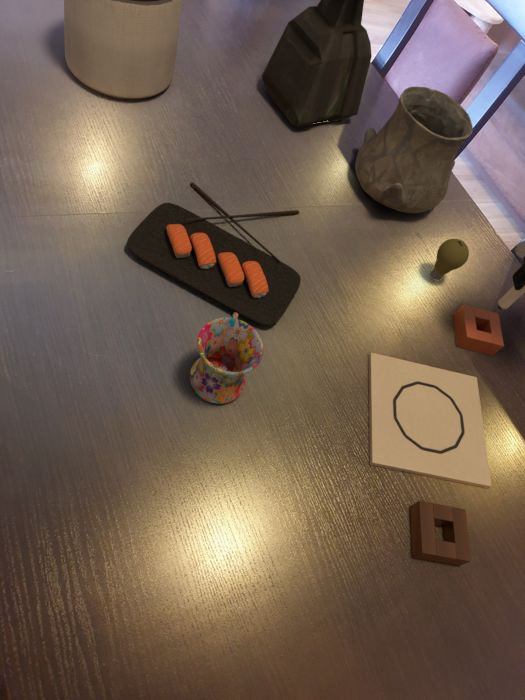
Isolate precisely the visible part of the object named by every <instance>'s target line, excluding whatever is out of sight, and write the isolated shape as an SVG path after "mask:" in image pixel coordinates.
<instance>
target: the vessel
mask: <svg viewBox="0 0 525 700" xmlns="http://www.w3.org/2000/svg"><path fill="white" fill-rule="evenodd" d="M473 130H474V127H473V122H472V120H471V117H470V115H469V113H468V112H467V111H466V109H464V107H463V106H462V105H461V104H460V103H458V102H457V101H456V100H455V99H454V98H453V97H451V96H449V95H448V94H446V93H445V92H442V91H440V90H437V89H433V88H430V87H426V86H409V87H406V88H405V89H404V90H403V91H402V92H401V94H400V96H399V99H398V102H397V106H396V108H395V110H394V112H393V113H392V115H391V116H390V117H389V119H388V120H387V121H386V122H385V124H384V125H383V126H382V127H381V128H380V130H379V131H377V132H376V129H375V128H373V127H370V128H369V129H367V130H366V131H365V132H364V137H363V138H364V139H363V143H362V144H361V147H360V148H359V150H358V152H357V155H356V157H355V164H354V169H355V175H356V177H357V180H358V182H359V185H360V187H361V189H362V190H363V191H364V193H366V194H367V195H368V196H369V197H370V198H371V199H373V200H374V201H375V202H378V203H379V204H381V205H382V206H384V207H387V208H389V209H392V210H395V211H398V212H401V213H402V212H403V213H406V214H407V213H408V214H418V213H419V214H420V213H425V212H428V211H430V210H433V209H434V208H435V207H437V206H438V205H440V204H441V202H442V201H443V200H444V199H445V197H446V195H447V191H448V189H449V188H448V187H449V182H450V180H451V175H452V171H453V169H454V167H455V165H456V161H455V159H456V156H457V153H458V151H459V149H460V147H461V146H462V145H463V144H464V142H466V140H467V139H469V138H470V137H471V136H472V134H473Z"/></svg>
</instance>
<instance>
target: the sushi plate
mask: <svg viewBox="0 0 525 700" xmlns="http://www.w3.org/2000/svg"><path fill="white" fill-rule="evenodd" d="M189 184H191V185H190V187H191V186H193V187H194V188H195V189H194V188H193V187H192V188H193V189H194V190H195V191H196V190H197V191H198V192H197V191H196V192H197V193H198V194H199V193H200V196H201V197H203V198H204V199H205V200H206V201H207V202H208V203H210V205H212V206H213V207H215V209H217V210H218V211H219V212H220V213H221V214H222V215H221V216H206V217H201V216H199V215H198V214H196V213H194V212H193V211H190V210H188V209H186V208H184V207H183V206H180V205H179V204H175V203H173V202H163V203H161V204H159V205H157V206H156V207H155V208H154V209H153V210H152V211H150V213H148V215H147V216H146V217H145V218H144V219H143V220H141V222H140V223H139V224H138V225H137V226H136V227H135V229H134V230H133V231H132V232H131V234H130V235H129V236H128V238H127V241H126V247H127V249H128V250H129V251H130V253H132V254H133V255H134V256H136V257H137V258H139V259H141V260H142V261H144V262H145V263H148V264H149V265H150V266H153V267H154V268H156V269H158V270H159V271H161V272H163V273H165V274H166V275H169V276H170V277H172V278H174V279H175V280H178V281H179V282H181V283H183V284H184V285H186V286H188V287H190V288H192V289H194V290H196V291H197V292H200V293H201V294H203V295H204V296H206V297H208V298H210V299H211V300H214V301H216V302H218V303H219V304H221V305H223V306H225V307H226V308H228V309H229V310H232V311H234V312H235V313H238V315H241V316H243V317H245V318H246V319H249V320H251V321H253V322H255V323H257V324H259V325H262V326H267V327H270V326H273V325H276V324H277V323H278V322H279V321H280V320H281V318H282V317H283V316H284V314H285V313H286V311H287V309H288V308H289V306H290V304H291V303H292V301H293V299H294V298H295V296H296V294H297V292H298V290H299V288H300V285H301V275H300V274H299V272H297V271H296V269H294V268H292V267H291V266H290V265H288V264H286V263H284V262H283V261H281V260H280V259H279V258H277V256H276V255H275V254H273V253H272V252H271V251H270V250H269V249H268V248H267V247H266V246H264V245H263V244H262V243H261V242H259V240H258V239H257V238H255V237H254V236H253V235H252V234H251V233H250V232H248V231H247V229H245V228H244V226H242V225H241V224H240V223H238V222H237V220H235V219H239V218H259V217H260V218H261V217H275V216H279V217H280V216H293V215H299V214H300V211H299V210H298V209H295V210H282V211H281V210H280V211H269V212H268V211H267V212H257V213H248V214H233V215H230V214H229V213H228V212H227V211H225V210H224V209H223V208H222V207H221V206H220V205H219V204H218V203H217V202H215V200H214V199H212V198H211V197H210V196H209V195H208V194H207V193H206V192H205V191H204V190H202V189H201V187H199V186H198V185H197V184H196V183H195V182H193V181H192V182H190V183H189ZM222 219H228V220H230V221H231V222H232V223H233V224H234V225H236V227H238V228H239V229H240V230H241V231H243V232H244V233H245V234H246V235H247V236H248V237H250V239H251V240H253V241H254V242H255V243H256V244H257V245H259V246H260V247H261V248H262V249H263V250H264V251H263V250H262V249H259V248H257V247H256V246H254V245H252V244H250V243H249V242H247V241H245V240H243V239H242V238H239V237H237V236H235V235H234V234H232V233H231V232H228V231H227V230H225V229H223V228H221V227H220V226H218V225H216V224H214V223H212V222H210V221H209V220H222Z"/></svg>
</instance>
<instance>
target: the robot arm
mask: <svg viewBox="0 0 525 700" xmlns="http://www.w3.org/2000/svg"><path fill="white" fill-rule="evenodd" d="M514 250H515V251H514V252H515V255H517V256H518V257H519V258H520V259H522V260H523V264H522V265H521V266H520V267H519V268H518V269H517V270H515V272H514V273H513V275H512V282H513V286H514V288H515V290H520V289H522V288H523V287H524V286H525V240H523V241H521V242H519V243H518V244H516V245H515V246H514Z"/></svg>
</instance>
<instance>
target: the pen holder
mask: <svg viewBox="0 0 525 700" xmlns="http://www.w3.org/2000/svg"><path fill="white" fill-rule="evenodd" d="M452 320H453V327H454V328H453V329H454V336H455V345H456V348H459V349H464V350H467V351H471V352H476V353H480V354H484V355H489V356H492V357H494V355H496V354H497V353H498V352H499V351H500V350H501V349H502V348H504V347H505V344H504V337H503V331H502V326H501V325H502V324H501V320H500V314H499V313H497V312H494V311H489V310H486V309H482V308H480V307H479V308H478V307H474V306H472V305H467V304H462V305H461V306H460V307H459V308H458V309H457V310H456V311H455V312H454V313H453V314H452Z"/></svg>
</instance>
